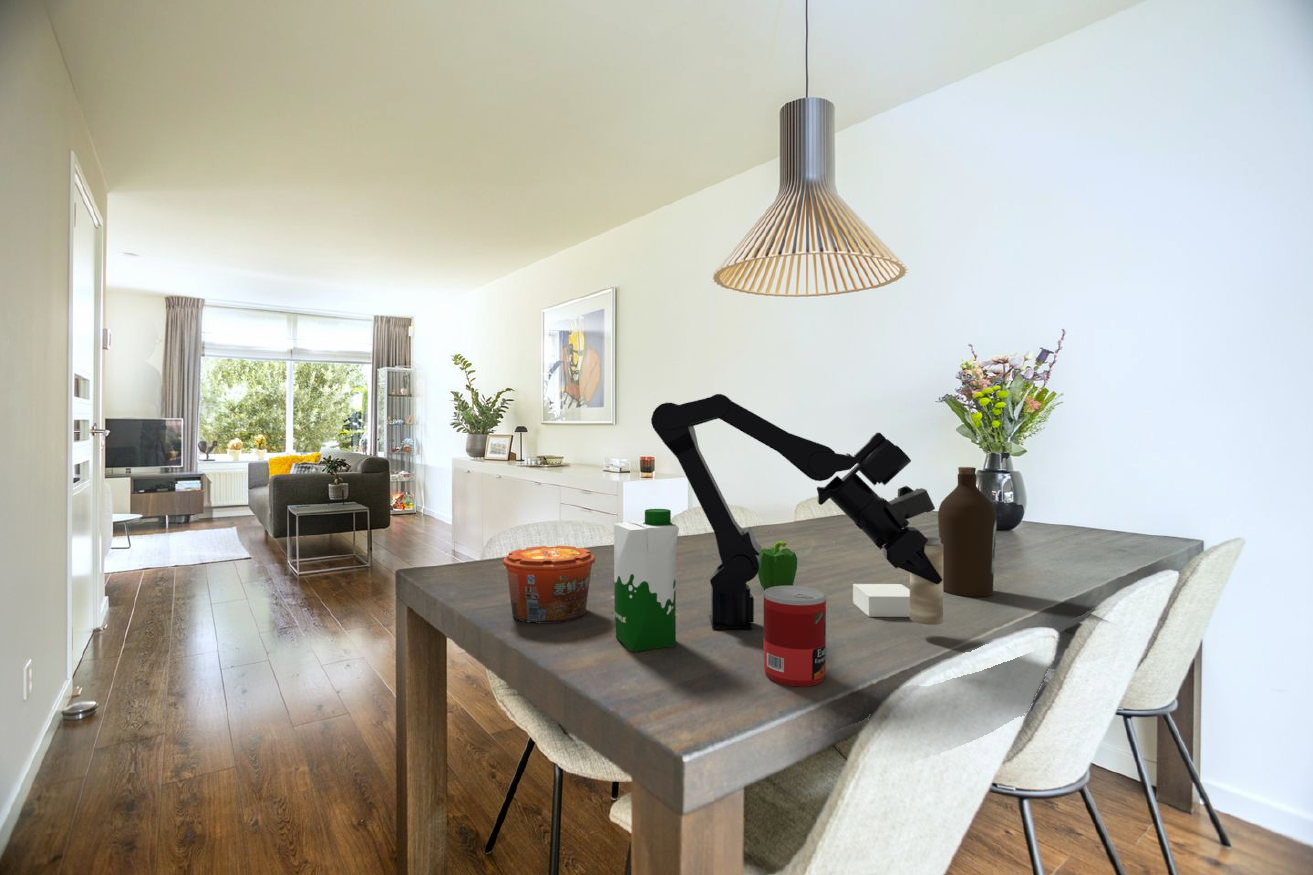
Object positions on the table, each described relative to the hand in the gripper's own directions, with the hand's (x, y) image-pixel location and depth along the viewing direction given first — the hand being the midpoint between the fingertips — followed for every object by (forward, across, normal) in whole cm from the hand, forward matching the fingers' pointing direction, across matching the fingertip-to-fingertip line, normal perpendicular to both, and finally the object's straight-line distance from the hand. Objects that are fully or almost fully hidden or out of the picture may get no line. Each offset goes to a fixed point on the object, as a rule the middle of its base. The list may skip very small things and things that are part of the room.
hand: (936, 578), depth 97 cm
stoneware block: (+3, +14, +10) cm, 18 cm away
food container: (-38, 0, +52) cm, 65 cm away
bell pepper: (-11, +26, +24) cm, 37 cm away
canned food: (-9, -20, +22) cm, 31 cm away
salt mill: (+4, 0, +6) cm, 7 cm away
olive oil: (+16, +31, -2) cm, 35 cm away
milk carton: (-24, -12, +38) cm, 46 cm away
